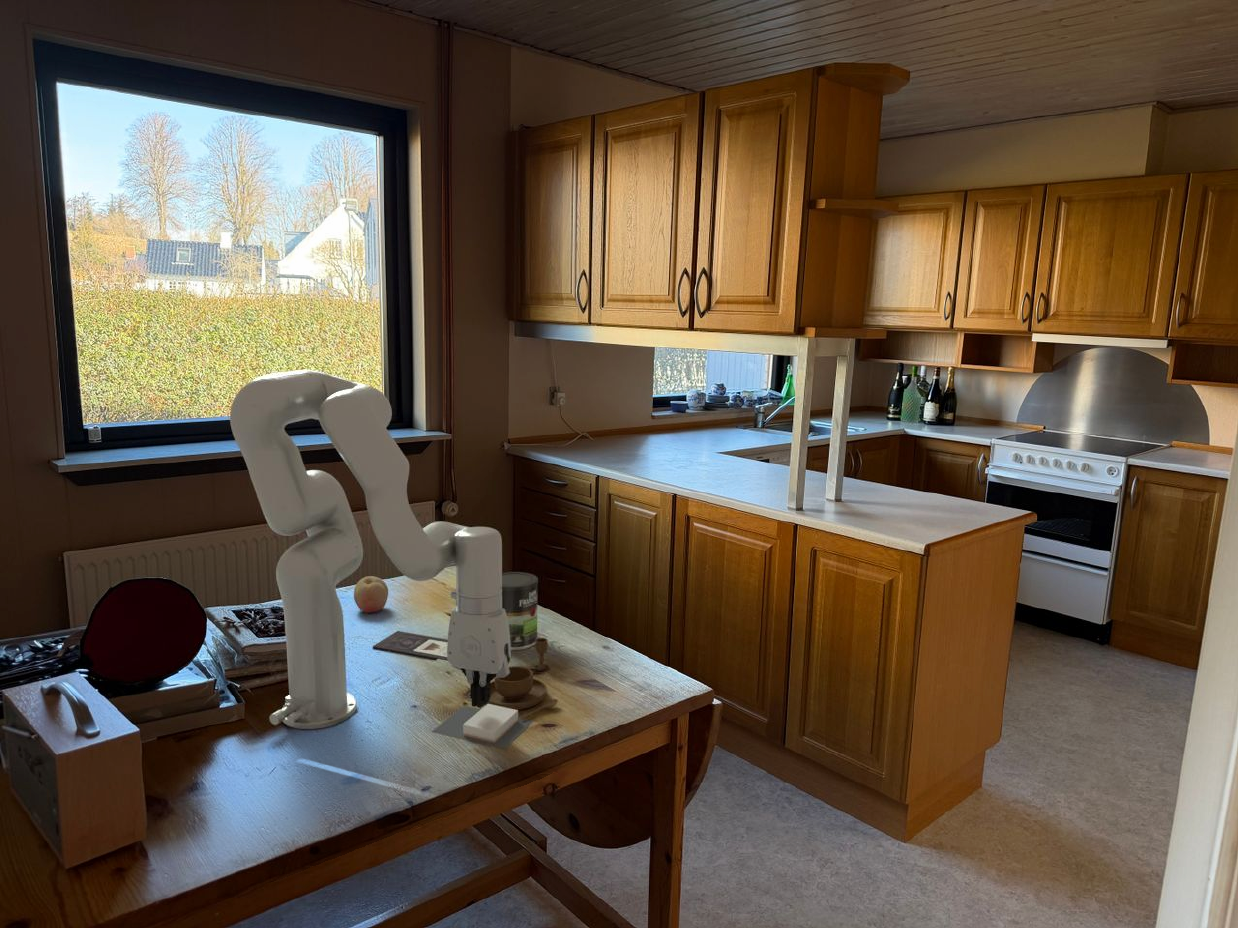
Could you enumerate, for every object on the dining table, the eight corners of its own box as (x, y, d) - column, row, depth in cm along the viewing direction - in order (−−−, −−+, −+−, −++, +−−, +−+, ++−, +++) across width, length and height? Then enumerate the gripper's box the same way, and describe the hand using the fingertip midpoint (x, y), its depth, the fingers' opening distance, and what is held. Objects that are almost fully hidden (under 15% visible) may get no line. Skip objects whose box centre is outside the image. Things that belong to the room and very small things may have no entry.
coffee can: (547, 638, 181) (547, 576, 178) (519, 654, 172) (519, 590, 169) (509, 628, 186) (508, 568, 183) (480, 644, 177) (479, 581, 174)
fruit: (349, 616, 191) (347, 583, 189) (360, 603, 199) (359, 572, 197) (383, 617, 191) (382, 584, 189) (393, 605, 198) (392, 573, 197)
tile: (463, 735, 138) (494, 742, 136) (463, 724, 138) (494, 731, 136) (487, 714, 146) (518, 720, 143) (487, 703, 145) (518, 710, 143)
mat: (505, 752, 134) (504, 748, 134) (432, 734, 139) (431, 731, 139) (533, 724, 144) (533, 721, 144) (463, 708, 149) (463, 705, 149)
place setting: (459, 694, 154) (457, 664, 153) (540, 663, 168) (540, 635, 167) (518, 724, 142) (517, 692, 141) (601, 688, 156) (601, 658, 155)
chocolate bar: (397, 630, 182) (469, 643, 176) (397, 634, 182) (469, 647, 176) (372, 646, 173) (447, 660, 167) (372, 650, 173) (447, 664, 168)
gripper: (428, 602, 137) (430, 704, 140) (507, 616, 131) (508, 722, 135) (453, 588, 143) (455, 686, 147) (529, 601, 138) (529, 702, 142)
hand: (480, 703), depth 141 cm, fingers closed
